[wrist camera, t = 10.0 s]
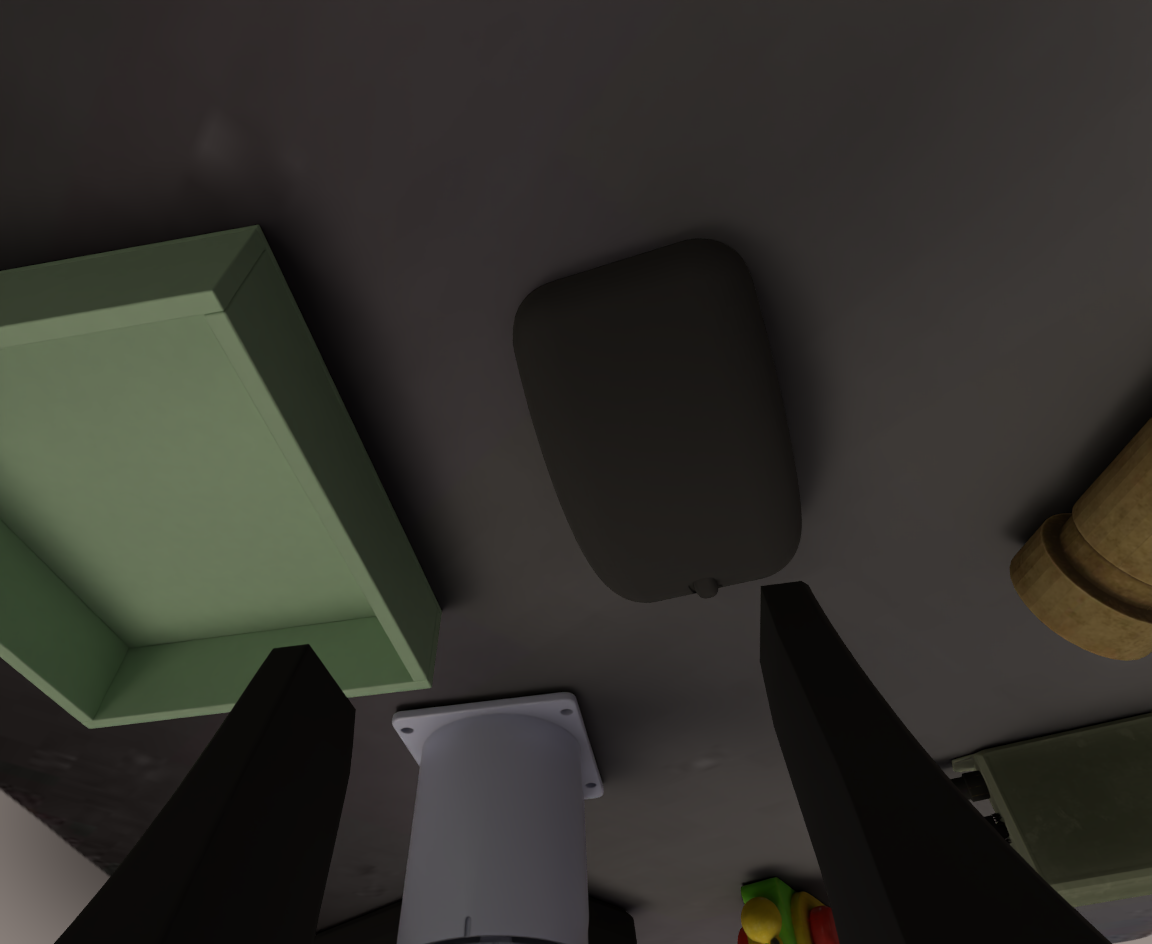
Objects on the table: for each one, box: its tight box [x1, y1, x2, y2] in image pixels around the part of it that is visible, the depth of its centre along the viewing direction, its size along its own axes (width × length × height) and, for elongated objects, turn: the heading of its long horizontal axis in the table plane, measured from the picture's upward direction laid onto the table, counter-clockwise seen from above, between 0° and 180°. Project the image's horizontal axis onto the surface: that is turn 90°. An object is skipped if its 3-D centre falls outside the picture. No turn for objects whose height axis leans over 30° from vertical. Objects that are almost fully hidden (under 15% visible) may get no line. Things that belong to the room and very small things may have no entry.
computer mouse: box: [513, 239, 802, 603], centre depth 20 cm, size 6×11×4 cm, turn 18°
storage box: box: [0, 225, 442, 729], centre depth 21 cm, size 15×12×3 cm
